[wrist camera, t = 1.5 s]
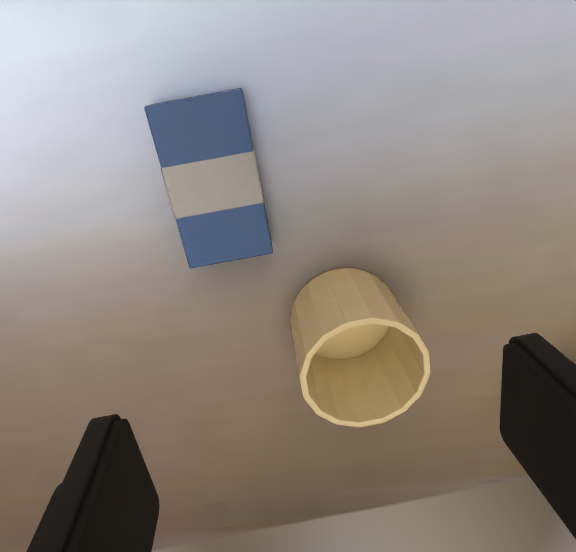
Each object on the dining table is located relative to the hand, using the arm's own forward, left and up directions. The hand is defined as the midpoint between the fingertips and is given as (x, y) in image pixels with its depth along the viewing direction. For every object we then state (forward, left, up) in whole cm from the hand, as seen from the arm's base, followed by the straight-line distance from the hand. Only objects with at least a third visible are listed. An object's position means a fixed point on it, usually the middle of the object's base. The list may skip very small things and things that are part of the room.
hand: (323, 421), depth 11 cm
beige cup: (+10, +3, -21) cm, 23 cm away
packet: (-2, -4, -21) cm, 21 cm away
